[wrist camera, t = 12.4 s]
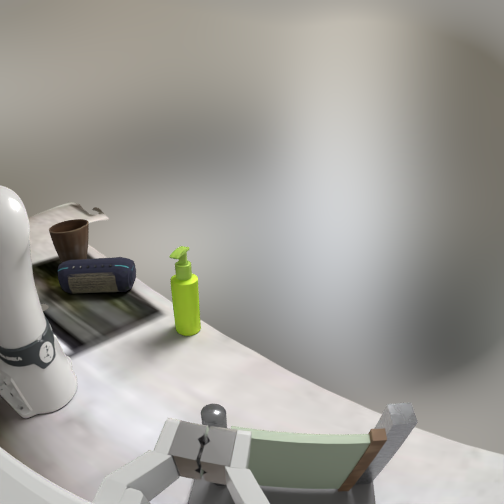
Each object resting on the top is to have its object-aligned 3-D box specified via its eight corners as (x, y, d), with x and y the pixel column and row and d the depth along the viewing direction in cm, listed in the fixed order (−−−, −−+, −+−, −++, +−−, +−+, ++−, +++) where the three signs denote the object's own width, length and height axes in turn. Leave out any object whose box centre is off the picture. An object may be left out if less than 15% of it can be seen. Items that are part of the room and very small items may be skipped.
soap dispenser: (169, 335, 64) (160, 253, 57) (182, 319, 70) (176, 241, 63) (193, 340, 63) (186, 257, 55) (204, 324, 69) (200, 244, 62)
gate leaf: (231, 484, 30) (228, 432, 25) (233, 475, 32) (231, 420, 26) (348, 491, 28) (387, 439, 23) (348, 481, 30) (384, 428, 24)
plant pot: (91, 275, 89) (84, 229, 83) (53, 279, 84) (43, 234, 78) (97, 258, 102) (91, 217, 96) (62, 262, 97) (55, 221, 91)
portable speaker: (58, 299, 73) (50, 269, 69) (67, 284, 82) (61, 255, 78) (135, 297, 78) (130, 265, 75) (139, 281, 87) (135, 251, 84)
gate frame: (174, 557, 19) (131, 528, 12) (205, 446, 38) (194, 367, 31) (376, 564, 17) (454, 528, 10) (366, 455, 35) (410, 378, 29)
